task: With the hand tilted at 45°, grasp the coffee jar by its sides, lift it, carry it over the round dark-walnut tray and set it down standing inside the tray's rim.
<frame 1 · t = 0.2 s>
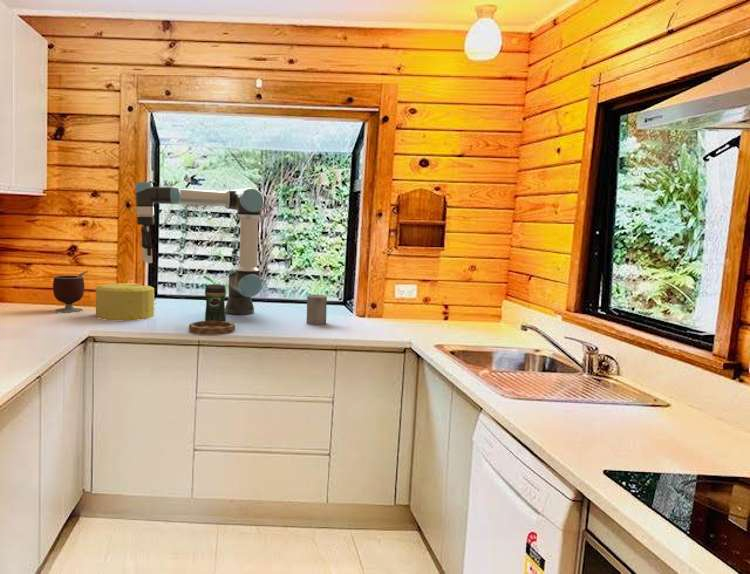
hand: (147, 262, 278), 27 cm above the worktop, tool pointing down, fingers open, 13 cm apart
coffee jar: (215, 324, 281), on the worktop
tray: (212, 330, 265), on the worktop
cheese: (125, 317, 290), on the worktop
pillar candle: (316, 323, 294), on the worktop
mate gourd: (70, 311, 298), on the worktop
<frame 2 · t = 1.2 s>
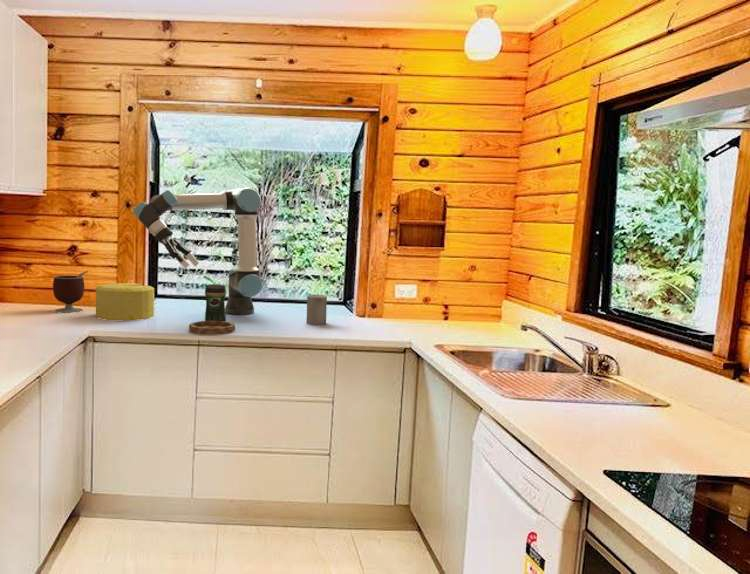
hand: (192, 265, 278), 27 cm above the worktop, tool tilted 45°, fingers open, 13 cm apart
nothing on the worktop moved.
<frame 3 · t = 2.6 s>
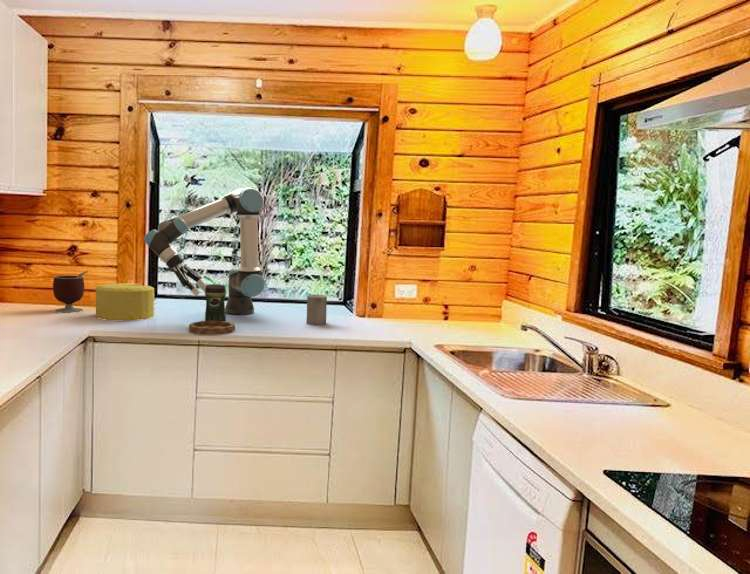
hand: (203, 292, 279), 15 cm above the worktop, tool tilted 45°, fingers open, 13 cm apart
nothing on the worktop moved.
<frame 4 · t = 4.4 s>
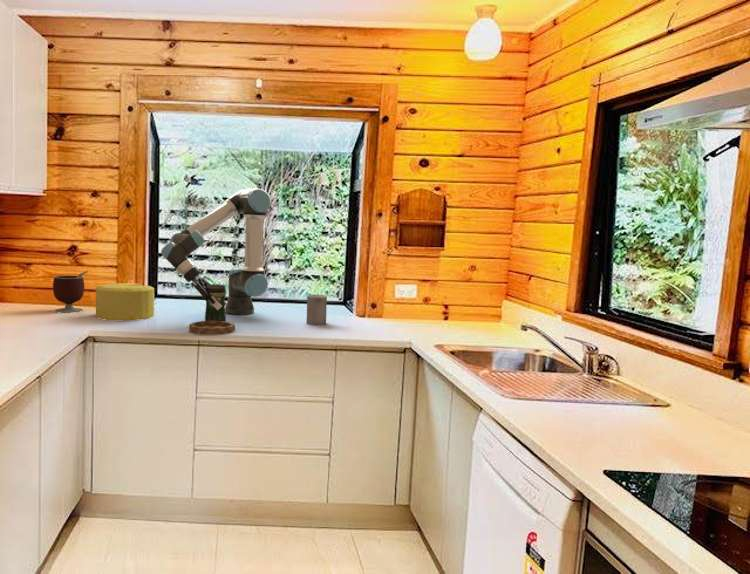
hand: (222, 306, 280), 8 cm above the worktop, tool tilted 45°, fingers closed on coffee jar, 8 cm apart
coffee jar: (215, 324, 281), on the worktop, touching gripper
everything else where it was.
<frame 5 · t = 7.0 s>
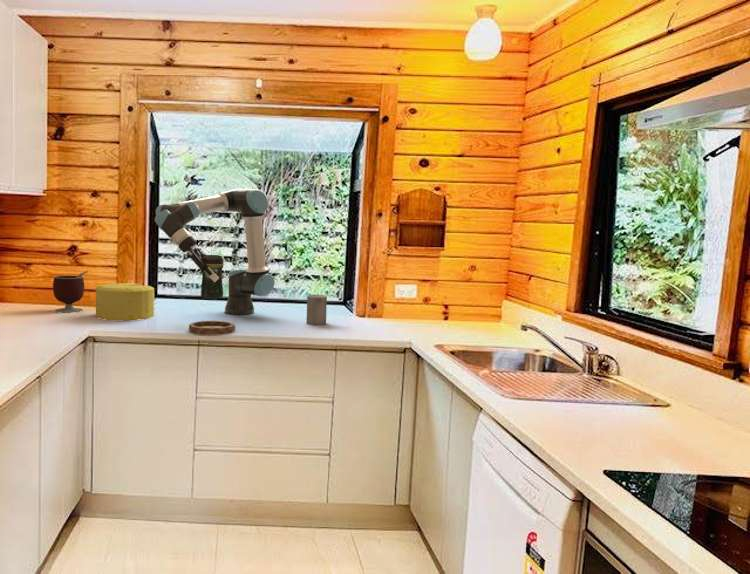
hand: (219, 279, 262), 23 cm above the worktop, tool tilted 45°, fingers closed on coffee jar, 8 cm apart
coffee jar: (211, 297, 263), point 14 cm above the worktop, touching gripper
everything else where it was.
when the fingers open (10 cm above the worktop, at t = 9.8 s): coffee jar stays where it is, resting on tray.
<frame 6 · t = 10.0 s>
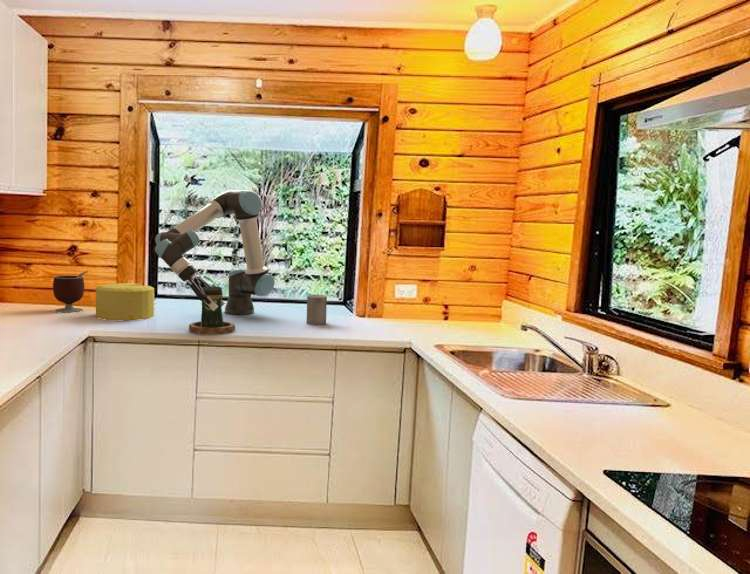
hand: (219, 307, 264), 10 cm above the worktop, tool tilted 45°, fingers open, 10 cm apart
coffee jar: (212, 328, 265), point 1 cm above the worktop, touching tray
everything else where it was.
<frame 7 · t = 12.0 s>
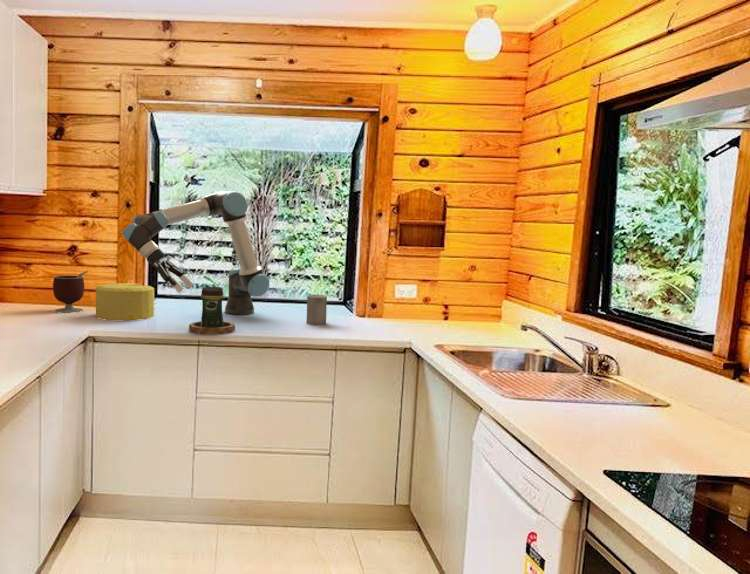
hand: (186, 288, 265), 18 cm above the worktop, tool tilted 45°, fingers open, 13 cm apart
nothing on the worktop moved.
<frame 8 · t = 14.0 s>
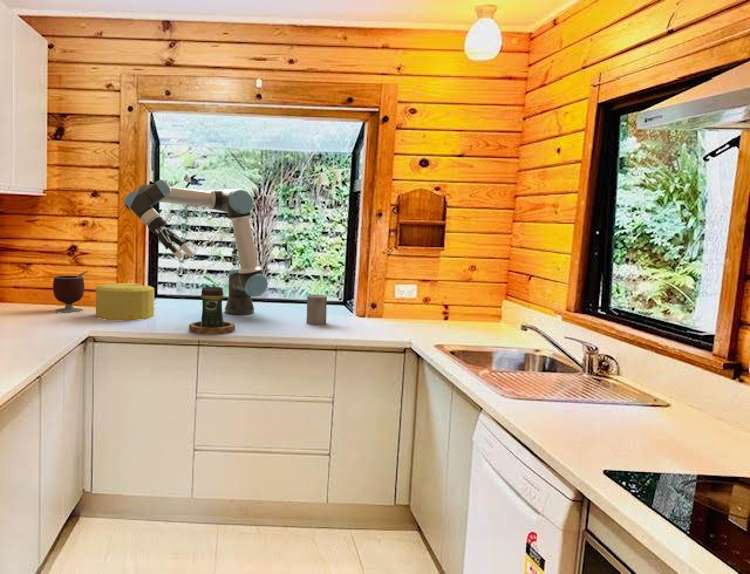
hand: (187, 256, 267), 32 cm above the worktop, tool tilted 45°, fingers open, 13 cm apart
nothing on the worktop moved.
at the end: coffee jar 0.1 cm from the tray (horizontally); coffee jar tilted 0°; the gripper is holding nothing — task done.
